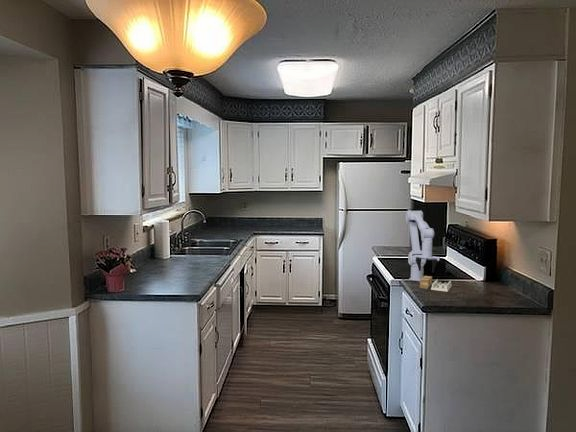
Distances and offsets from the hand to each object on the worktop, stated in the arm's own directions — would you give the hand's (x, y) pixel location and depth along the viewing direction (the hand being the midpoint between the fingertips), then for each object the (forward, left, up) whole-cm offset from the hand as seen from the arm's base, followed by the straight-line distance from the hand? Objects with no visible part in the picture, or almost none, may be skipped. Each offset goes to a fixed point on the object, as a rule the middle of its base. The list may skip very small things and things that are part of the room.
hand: (426, 271), depth 266 cm
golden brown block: (0, 0, -9) cm, 9 cm away
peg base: (0, +9, -9) cm, 13 cm away
